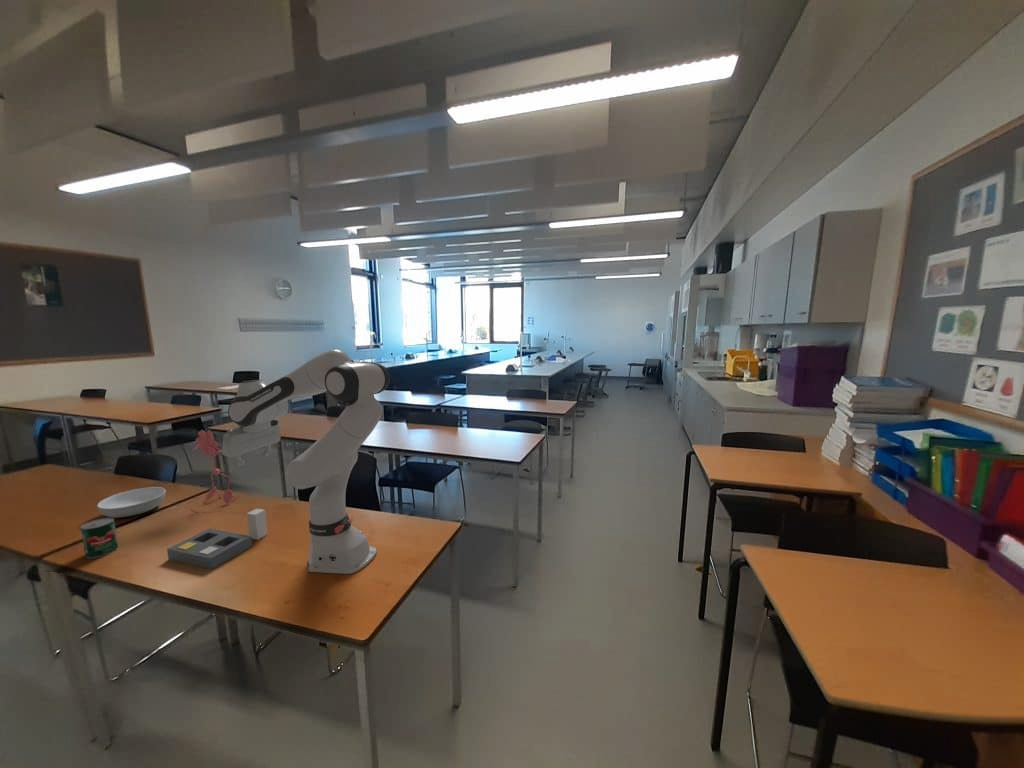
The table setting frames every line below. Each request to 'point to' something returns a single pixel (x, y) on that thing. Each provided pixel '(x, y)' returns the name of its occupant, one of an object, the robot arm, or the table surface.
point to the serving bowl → (132, 502)
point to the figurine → (209, 445)
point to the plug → (257, 523)
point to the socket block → (209, 548)
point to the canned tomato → (99, 537)
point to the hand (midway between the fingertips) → (253, 460)
